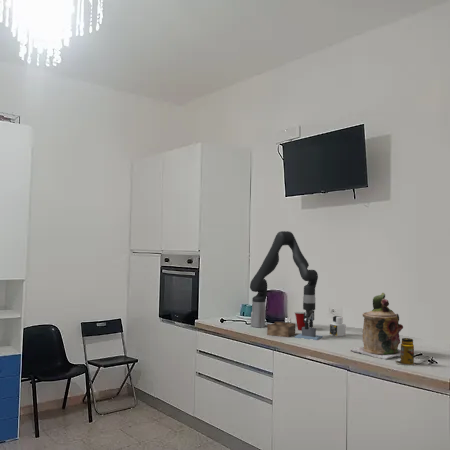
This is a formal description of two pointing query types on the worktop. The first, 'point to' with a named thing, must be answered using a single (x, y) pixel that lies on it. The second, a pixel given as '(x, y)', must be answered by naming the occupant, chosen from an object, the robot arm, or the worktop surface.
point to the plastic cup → (300, 320)
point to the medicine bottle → (337, 326)
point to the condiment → (407, 352)
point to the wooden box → (281, 329)
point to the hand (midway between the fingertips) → (308, 328)
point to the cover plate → (308, 334)
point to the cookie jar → (380, 331)
